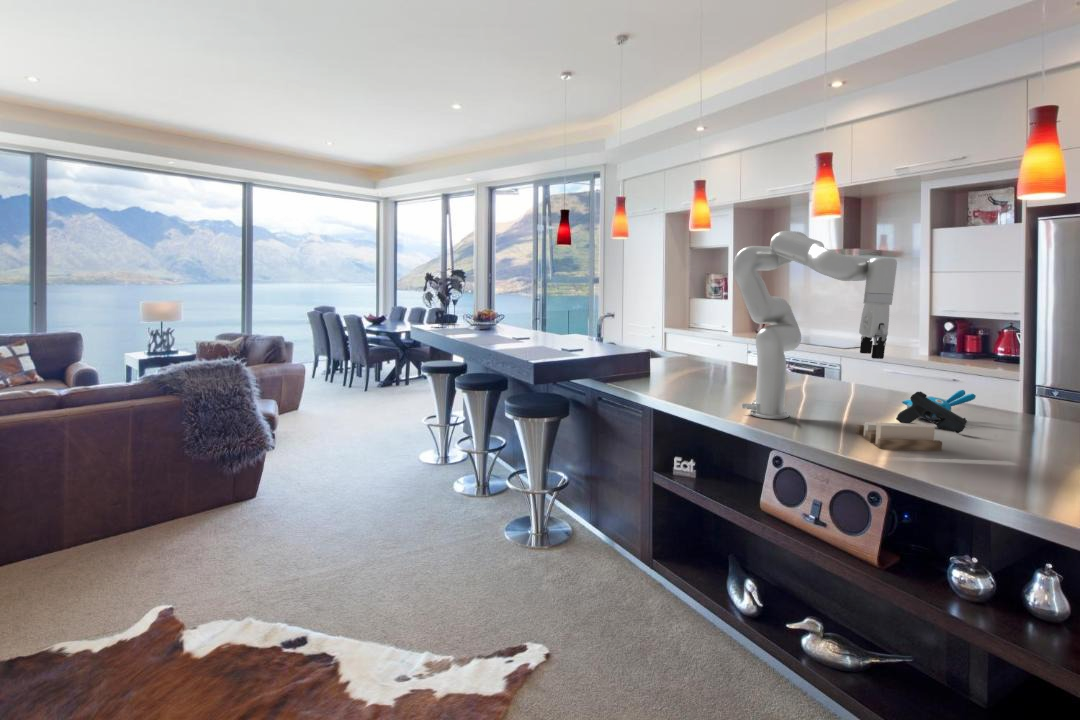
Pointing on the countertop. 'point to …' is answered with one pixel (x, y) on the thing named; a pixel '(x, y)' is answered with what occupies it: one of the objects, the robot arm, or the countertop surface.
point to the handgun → (931, 413)
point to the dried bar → (872, 426)
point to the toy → (946, 402)
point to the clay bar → (904, 431)
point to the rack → (899, 442)
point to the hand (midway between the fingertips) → (871, 355)
